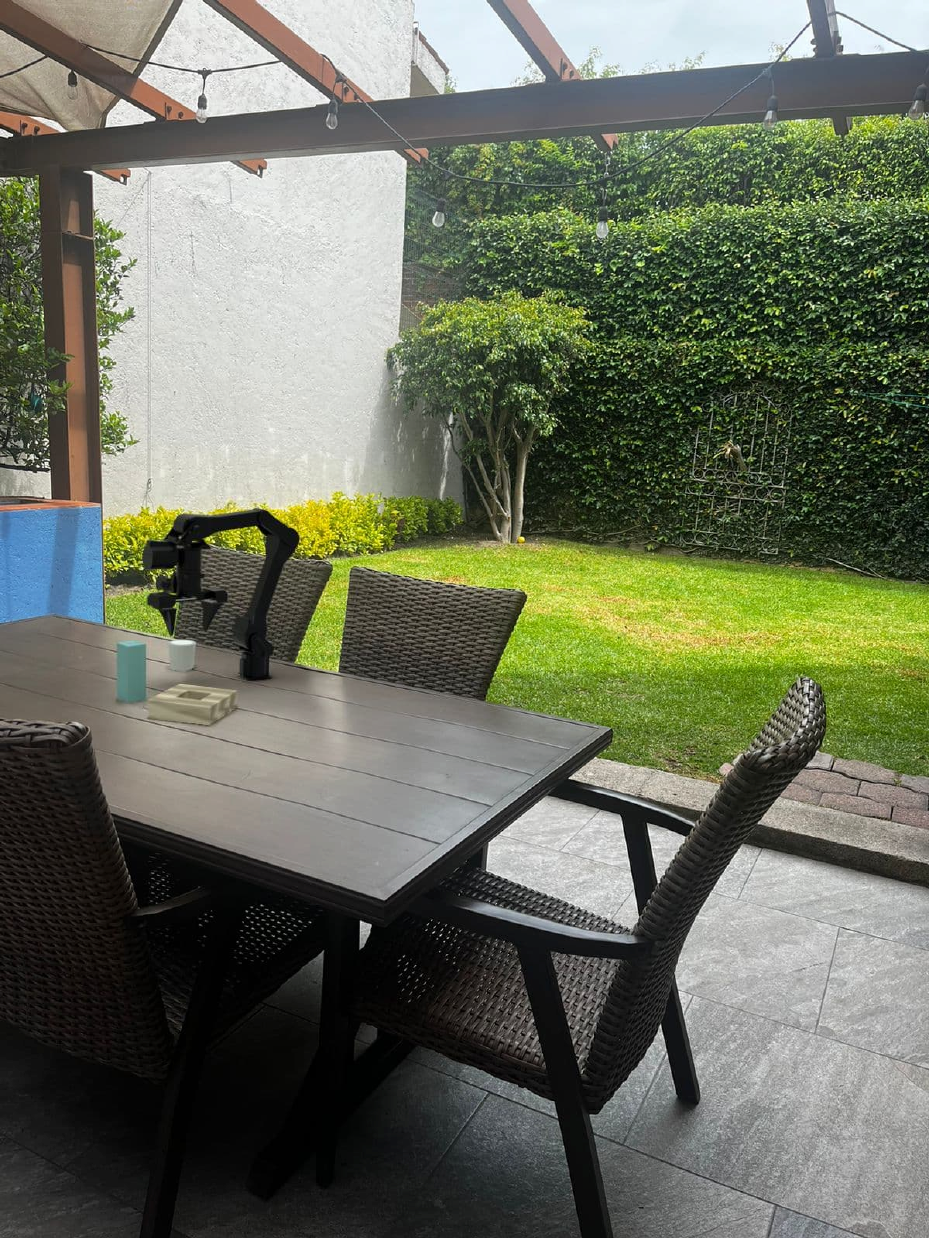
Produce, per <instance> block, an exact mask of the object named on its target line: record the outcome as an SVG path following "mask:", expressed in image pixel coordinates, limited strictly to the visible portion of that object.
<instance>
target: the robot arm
mask: <svg viewBox="0 0 929 1238" xmlns="http://www.w3.org/2000/svg"><path fill="white" fill-rule="evenodd" d="M173 520H174V521H173V525H172V527H171V529H170V530H169V531H168V532H167V534H166V535H165V537H163V540H153V539H147V540H145V543H146V545H145V546H144V547H143V550H142V553H141V561H142V565H143V568H144V569H145V570H146V571H155V570H156V571H157V570H158V571H159V570H172V569H174V568H175V569H176V571H175V570H173V571H172V574H171V575H172V577H171V578H167V576H166V575H159V576H156V577H155V589H156V590H157V591H159V592H150V593H149V595H148V596H147V597H146V600H147V601H146V604H147V606H149V607H152V608H153V610H157V611H158V612H159V613H160V614H161V617H162V619H163V621H164V624H165V627H166V629H167V632H168V636H171V637H173V636H174V634H175V630H176V628H175V627H176V617H177V608H176V607H174V606H175V605H176V604H177V603H186V602H195V601H199V602H200V604H201V607H202V631H203V632H207V631H208V629H209V628H210V626H211V624H212V622H213V620H214V618H215V617H216V615H217V613H218V612H219V611H220V609H221V607H223V606H224V605H225V604H224V603H228V602H229V593H228V592H227V590H226V589H222V588H220V587H216V586H215V587H205V588H204V587H203V588H202V579H205V578H206V574H205V573H204V572H202V571H203V570H202V568H203V558H202V557H203V550H211V549H212V547H211V546H210V545H209V544H208V543H207V542H206V540H205V539H207V538H210V537H211V536H213V535H215V534H216V533H219V532H225V531H233V530H239V529H246V528H250V527H251V528H253V527H256V528H257V529H258V530H259V532H260V533H261V534H262V535H263V536H264V537H265V543H264V549H265V550H264V551H265V552H264V553H265V560H264V562H263V565H262V568H261V570H260V574H259V577H258V579H257V582H256V585H255V588H254V592H253V594H252V597H251V599H250V603H249V606H248V609H247V611H245V613H244V614H243V615H242V616H241V615H239V614H238V615H236V617H235V621H234V623H233V626H232V628H230V629H231V631H232V639H233V641H234V642H235V644H236V645H237V647H238V650H239V651H241V658H239V667H238V668H239V672H238V675H239V674H240V675H241V676H240V675H239V676H240V677H242V676H243V677H242V678H244V679H245V678H246V679H245V680H247V679H248V680H247V681H252V680H251V679H256V680H259V679H258V678H266V679H272V678H271V677H273V675H271V674H270V656H273V654H274V651H275V646H273V644H272V643H271V642H270V641H268V639H267V633H268V624H267V623H268V621H267V617H268V616H267V615H268V613H269V611H270V606H271V605H272V601H273V598H274V595H275V592H276V589H277V587H278V583H279V580H280V579H281V578H280V577H281V575H282V573H283V572H282V571H283V569H284V567H285V566H284V565H285V564H286V563H287V562H288V561H289V560H290V559H291V557H292V556H293V555H294V554H295V552H296V549H297V547H298V545H299V544H300V540H301V537H300V535H299V532H298V531H297V530H296V529H295V528H294V527H289V526H288V525H287V524H285V523H284V522H282V521H281V520H279V519H278V518H277V517H275V516H274V515H273V514H272V513H271V512H269V511H268V510H267V509H264V508H258V507H255V508H252V509H248V510H247V509H246V510H240V511H234V512H225V513H218V514H212V515H210V514H208V515H206V514H197V513H196V514H195V513H194V514H193V513H181V514H178V515H177V516H176V518H175V519H173ZM160 591H161V592H160Z"/></svg>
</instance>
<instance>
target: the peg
mask: <svg viewBox="0 0 929 1238" xmlns="http://www.w3.org/2000/svg"><path fill="white" fill-rule="evenodd" d="M116 699H117V700H118V701H121V702H124V703H127V704H132V703H136V702H141V701H142V702H143V701H146V700H147V644H146V643H144V642H141V641H138V640H135V639H134V640H128V641H121V642H116Z"/></svg>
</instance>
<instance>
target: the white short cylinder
mask: <svg viewBox="0 0 929 1238" xmlns="http://www.w3.org/2000/svg"><path fill="white" fill-rule="evenodd" d="M167 646H168V647H167V648H168V658H169V666H170V668H171V669H172V670H171V669H170V670H171V671H173V670H177V671H176V672H185V671H184V670H189V669H192V668H193V669H194V666H195V665H194V664H195V658H196V657H195V655H196V646H197V642H196V641H195V640H190V639H175V640H173V639H172V640H169V641H168V642H167Z"/></svg>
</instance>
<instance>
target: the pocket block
mask: <svg viewBox="0 0 929 1238" xmlns="http://www.w3.org/2000/svg"><path fill="white" fill-rule="evenodd" d="M236 707H237V708H238V690H235V689H233V690H232V689H226V688H217V687H216V688H215V687H208V686H203V685H202V686H201V685H192V684H185V683H184V684H183V683H179V684H176V685H174V686H172V687H170V688H169V689H166V690H164V691H163V692H160V693H159V694H157V695H155V696H152V697H151V698H148V699H147V719H152V720H159V721H166V720H167V721H168V722H169V721H170V722H174V721H176V722H175V723H182V722H188V723H187V724H190V723H196V724H195V725H198V724H203V725H202V726H205V725H210V724H211V723H213V722H215V721H216V720H217V719H219V718H221V717H222V716H223V715H225V716H227V715H228V714H229V713H228V712H230V711H231V710H233V709H234V708H236ZM237 708H236V709H237ZM233 711H234V710H233ZM227 713H228V714H227ZM230 713H231V712H230ZM226 714H227V715H226ZM222 718H223V717H222ZM222 718H221V719H222ZM219 720H220V719H219ZM216 722H217V721H216ZM216 722H215V723H216ZM213 724H214V723H213ZM211 725H212V724H211ZM211 725H210V726H211Z"/></svg>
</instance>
